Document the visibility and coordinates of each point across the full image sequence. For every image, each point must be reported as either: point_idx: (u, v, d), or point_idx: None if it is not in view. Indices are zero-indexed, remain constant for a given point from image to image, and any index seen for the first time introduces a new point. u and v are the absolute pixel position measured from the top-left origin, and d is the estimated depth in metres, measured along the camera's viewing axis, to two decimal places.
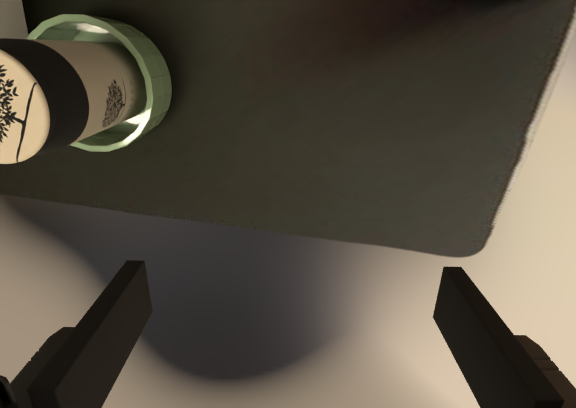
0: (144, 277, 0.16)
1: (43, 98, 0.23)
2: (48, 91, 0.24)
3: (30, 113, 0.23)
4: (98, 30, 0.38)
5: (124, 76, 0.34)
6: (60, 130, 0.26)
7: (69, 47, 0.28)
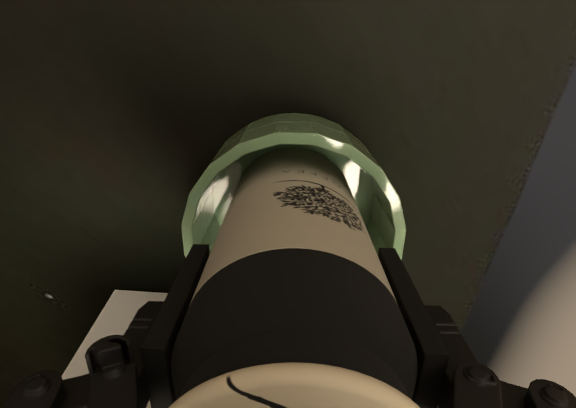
0: None
1: (271, 372, 0.08)
2: (264, 339, 0.09)
3: None
4: (221, 210, 0.26)
5: (273, 178, 0.18)
6: (367, 329, 0.10)
7: (208, 259, 0.15)
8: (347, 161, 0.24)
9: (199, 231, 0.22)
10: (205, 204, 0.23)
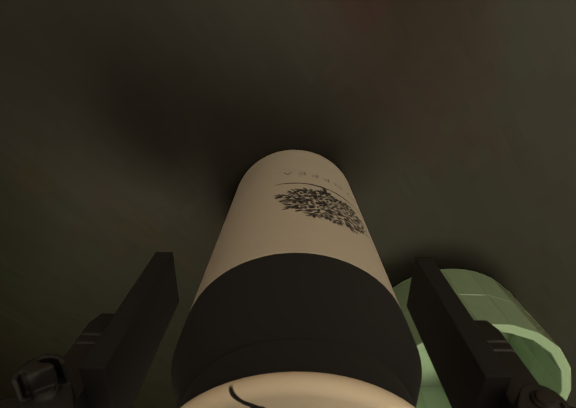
0: (172, 268, 0.17)
1: (274, 382, 0.07)
2: (266, 346, 0.09)
3: None
4: None
5: (275, 180, 0.18)
6: (371, 335, 0.10)
7: (209, 263, 0.15)
8: None
9: None
10: None
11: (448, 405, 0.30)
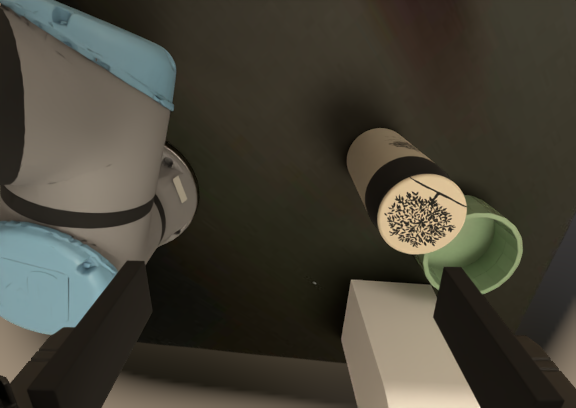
0: (144, 277, 0.16)
1: (422, 174, 0.30)
2: (412, 175, 0.31)
3: (432, 186, 0.30)
4: None
5: (383, 139, 0.41)
6: (441, 175, 0.32)
7: (367, 168, 0.37)
8: None
9: None
10: None
11: None
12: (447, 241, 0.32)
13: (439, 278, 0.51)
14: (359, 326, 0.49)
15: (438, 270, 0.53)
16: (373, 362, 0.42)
